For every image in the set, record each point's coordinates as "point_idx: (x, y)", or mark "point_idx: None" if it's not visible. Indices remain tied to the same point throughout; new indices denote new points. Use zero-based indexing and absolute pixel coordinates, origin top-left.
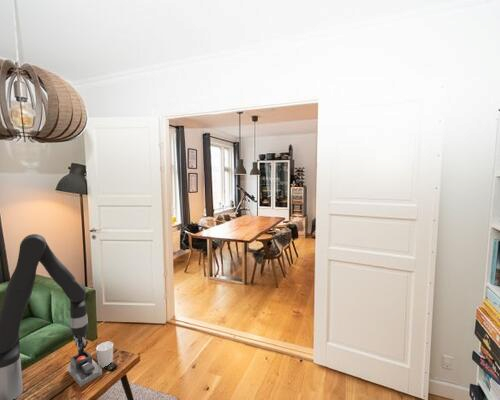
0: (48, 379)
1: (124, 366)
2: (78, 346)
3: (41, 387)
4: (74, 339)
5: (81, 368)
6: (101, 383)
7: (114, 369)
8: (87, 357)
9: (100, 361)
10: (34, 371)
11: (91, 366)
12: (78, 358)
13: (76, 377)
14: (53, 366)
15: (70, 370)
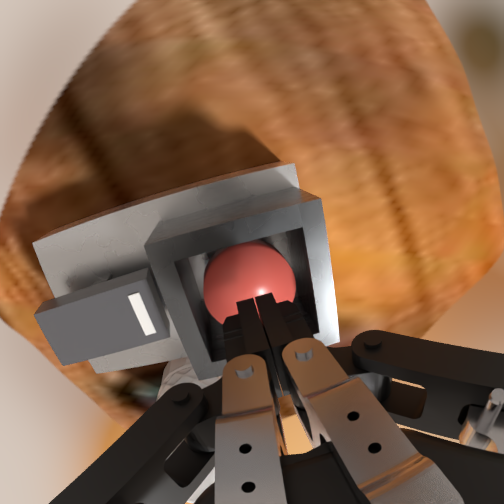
0: (273, 42)
1: (125, 429)
2: (258, 396)
3: (210, 5)
4: (471, 366)
5: (147, 269)
6: (38, 331)
7: (122, 398)
8: (198, 350)
9: (167, 386)
10: (408, 13)
11: (73, 349)
12: (271, 269)
13: (90, 219)
14: (399, 95)
15: (222, 179)
